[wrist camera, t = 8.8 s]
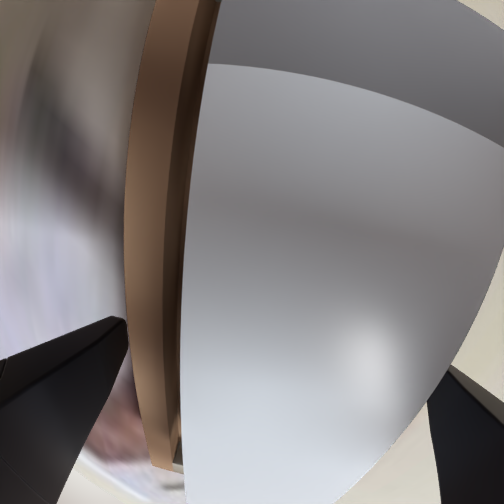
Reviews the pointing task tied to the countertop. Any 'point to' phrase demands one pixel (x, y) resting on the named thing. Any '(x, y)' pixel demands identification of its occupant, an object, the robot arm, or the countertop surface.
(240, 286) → the white tall block
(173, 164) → the wooden tray
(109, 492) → the countertop surface
